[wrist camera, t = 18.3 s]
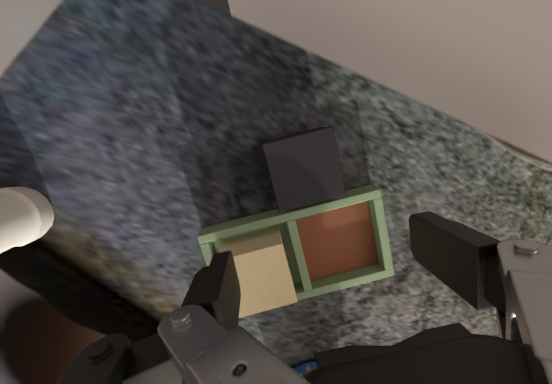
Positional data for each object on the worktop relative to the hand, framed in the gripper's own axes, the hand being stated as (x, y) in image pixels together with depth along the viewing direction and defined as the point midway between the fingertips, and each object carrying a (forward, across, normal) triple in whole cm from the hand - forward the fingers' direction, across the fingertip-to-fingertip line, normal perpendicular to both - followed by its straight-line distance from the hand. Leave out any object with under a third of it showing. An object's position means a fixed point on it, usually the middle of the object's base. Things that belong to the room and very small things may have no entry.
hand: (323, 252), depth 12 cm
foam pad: (+13, +4, +6) cm, 15 cm away
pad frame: (+14, 0, +6) cm, 15 cm away
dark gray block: (+14, -1, -2) cm, 14 cm away
